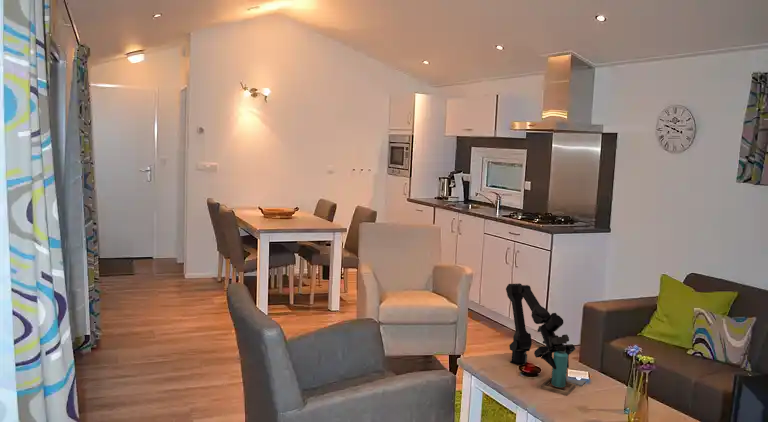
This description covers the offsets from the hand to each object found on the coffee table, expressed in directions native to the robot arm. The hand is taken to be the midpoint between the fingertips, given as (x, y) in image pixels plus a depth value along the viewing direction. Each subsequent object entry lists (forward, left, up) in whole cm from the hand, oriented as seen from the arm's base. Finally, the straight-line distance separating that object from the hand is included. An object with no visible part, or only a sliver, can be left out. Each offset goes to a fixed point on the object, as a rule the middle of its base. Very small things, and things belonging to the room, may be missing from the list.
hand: (561, 368), depth 289 cm
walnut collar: (-1, +1, -10) cm, 10 cm away
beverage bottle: (-1, +1, -10) cm, 10 cm away
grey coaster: (+2, +15, -10) cm, 18 cm away
